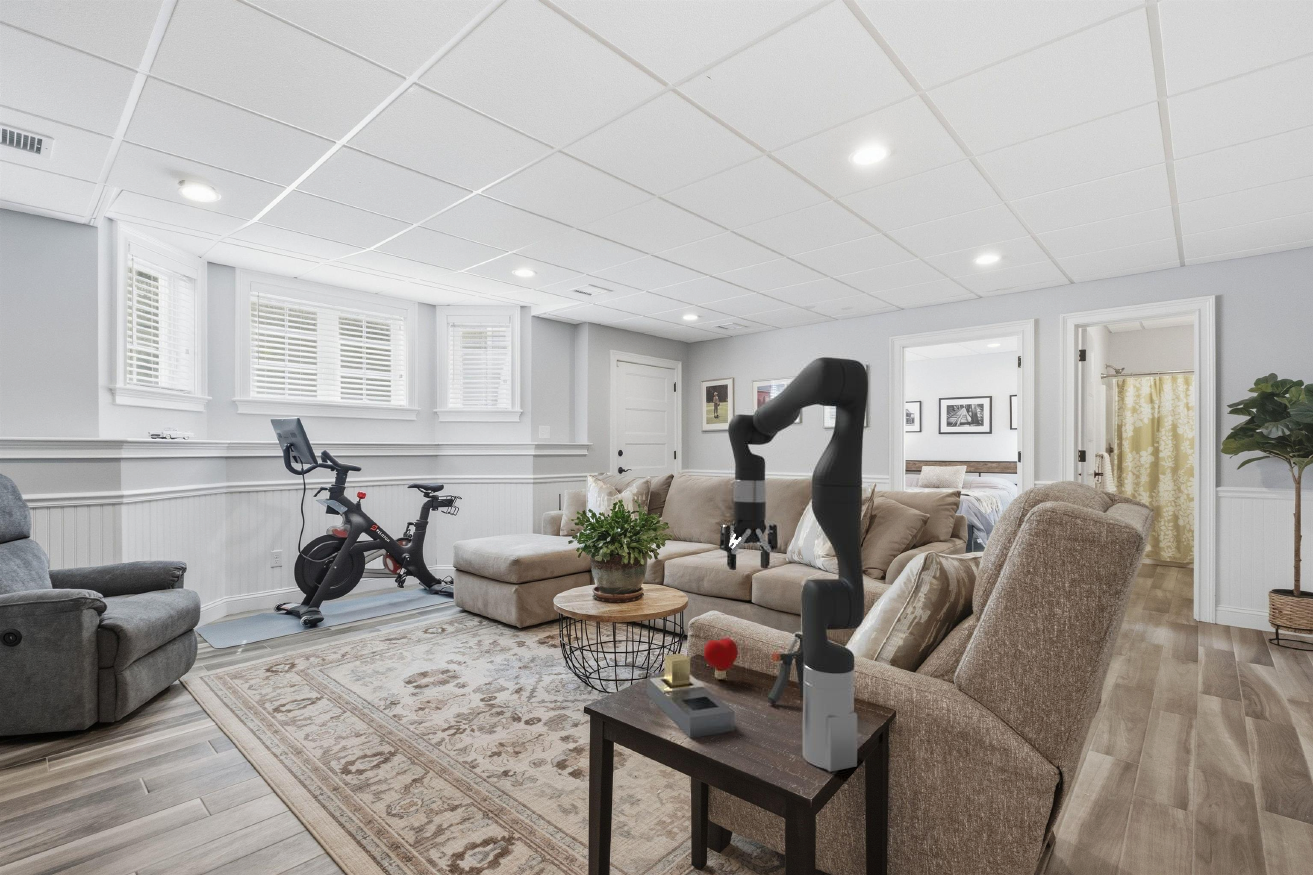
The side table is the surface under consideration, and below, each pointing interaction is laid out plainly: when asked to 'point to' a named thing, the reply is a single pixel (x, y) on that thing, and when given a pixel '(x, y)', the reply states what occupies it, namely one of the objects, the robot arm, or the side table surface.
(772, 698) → the hand grip strengthener
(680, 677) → the brass block
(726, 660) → the red two-lobed part
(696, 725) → the grey peg holder block
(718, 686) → the side table surface
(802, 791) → the side table surface
